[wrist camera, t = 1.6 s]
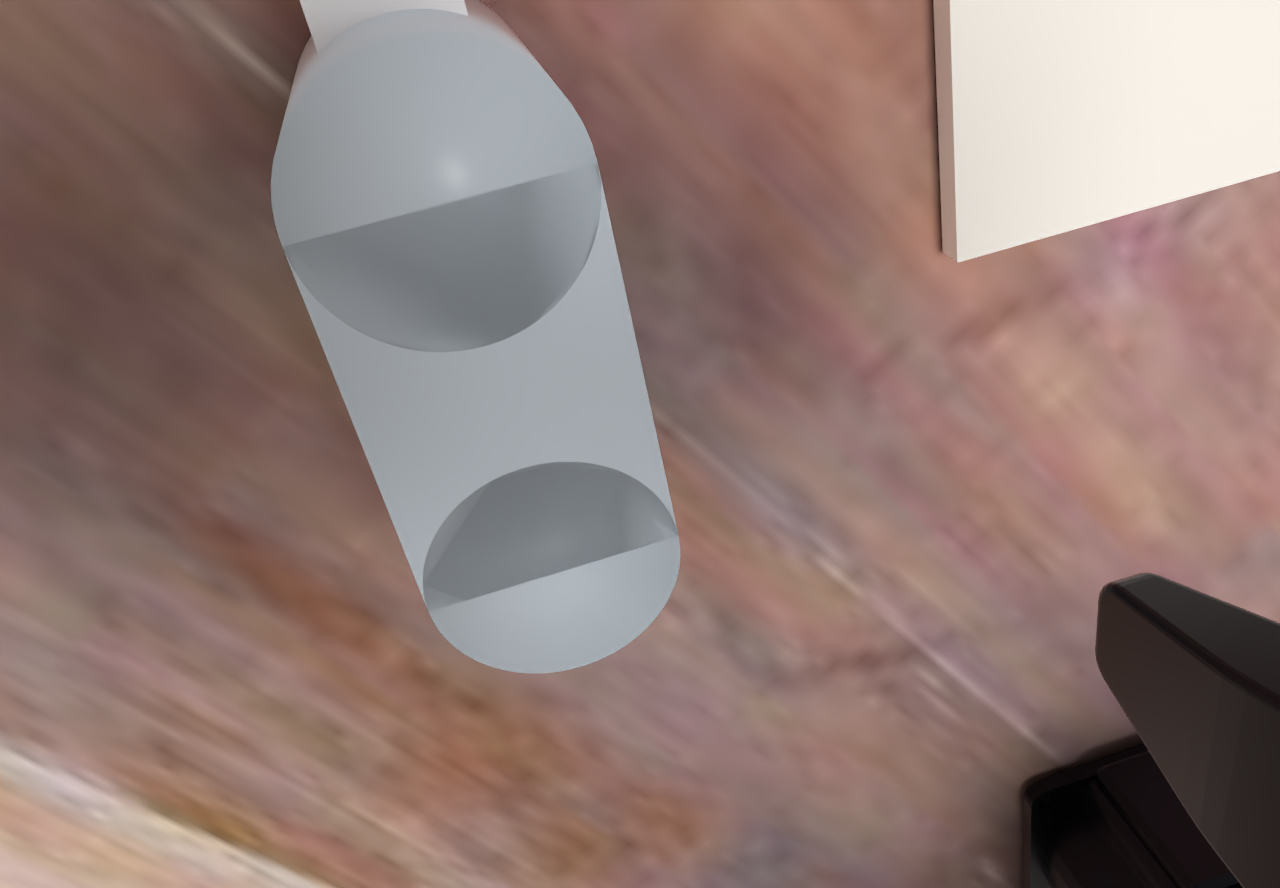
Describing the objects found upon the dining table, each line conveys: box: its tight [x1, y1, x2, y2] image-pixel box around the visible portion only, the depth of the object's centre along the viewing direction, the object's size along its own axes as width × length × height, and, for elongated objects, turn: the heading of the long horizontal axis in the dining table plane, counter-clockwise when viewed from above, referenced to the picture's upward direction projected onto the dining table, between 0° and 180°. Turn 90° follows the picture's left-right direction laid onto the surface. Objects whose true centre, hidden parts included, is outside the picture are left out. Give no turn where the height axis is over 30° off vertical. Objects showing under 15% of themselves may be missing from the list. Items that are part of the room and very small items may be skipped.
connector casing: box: [271, 0, 680, 674], centre depth 16 cm, size 13×4×5 cm, turn 11°
